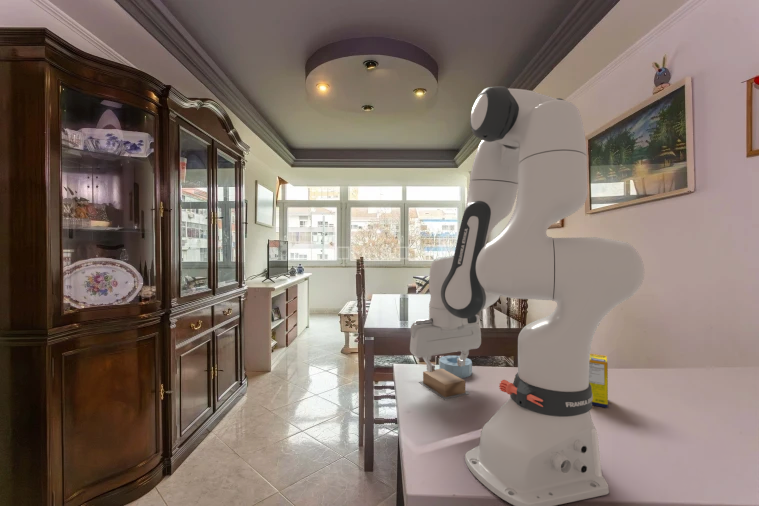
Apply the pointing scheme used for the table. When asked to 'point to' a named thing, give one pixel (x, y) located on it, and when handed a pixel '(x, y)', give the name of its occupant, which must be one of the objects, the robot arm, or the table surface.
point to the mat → (442, 395)
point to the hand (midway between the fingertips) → (446, 368)
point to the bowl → (456, 366)
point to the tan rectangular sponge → (444, 382)
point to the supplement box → (599, 379)
